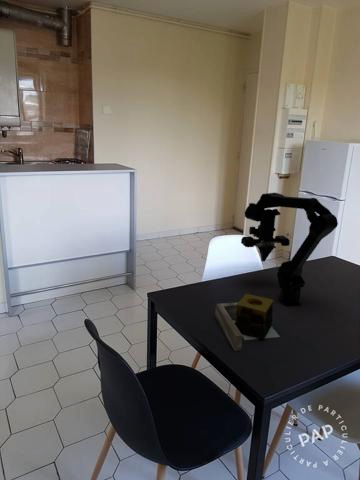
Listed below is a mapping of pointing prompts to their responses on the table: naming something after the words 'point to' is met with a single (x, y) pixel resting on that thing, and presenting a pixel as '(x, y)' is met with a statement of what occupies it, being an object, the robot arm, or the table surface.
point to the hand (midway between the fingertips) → (263, 261)
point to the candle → (254, 316)
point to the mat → (270, 334)
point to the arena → (229, 323)
